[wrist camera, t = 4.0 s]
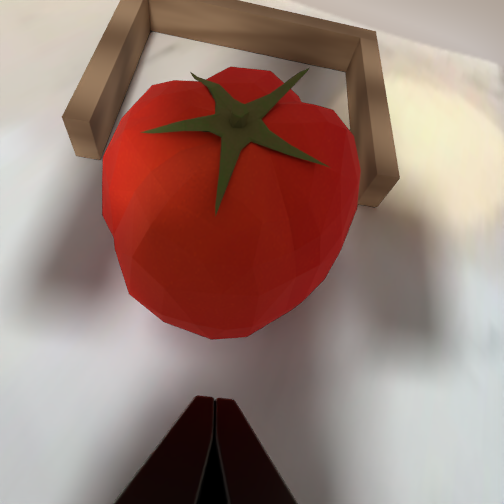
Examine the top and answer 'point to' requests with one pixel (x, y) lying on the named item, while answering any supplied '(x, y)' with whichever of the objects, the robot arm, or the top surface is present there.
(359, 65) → the walnut bay
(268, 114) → the tomato
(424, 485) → the top surface
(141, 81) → the top surface
